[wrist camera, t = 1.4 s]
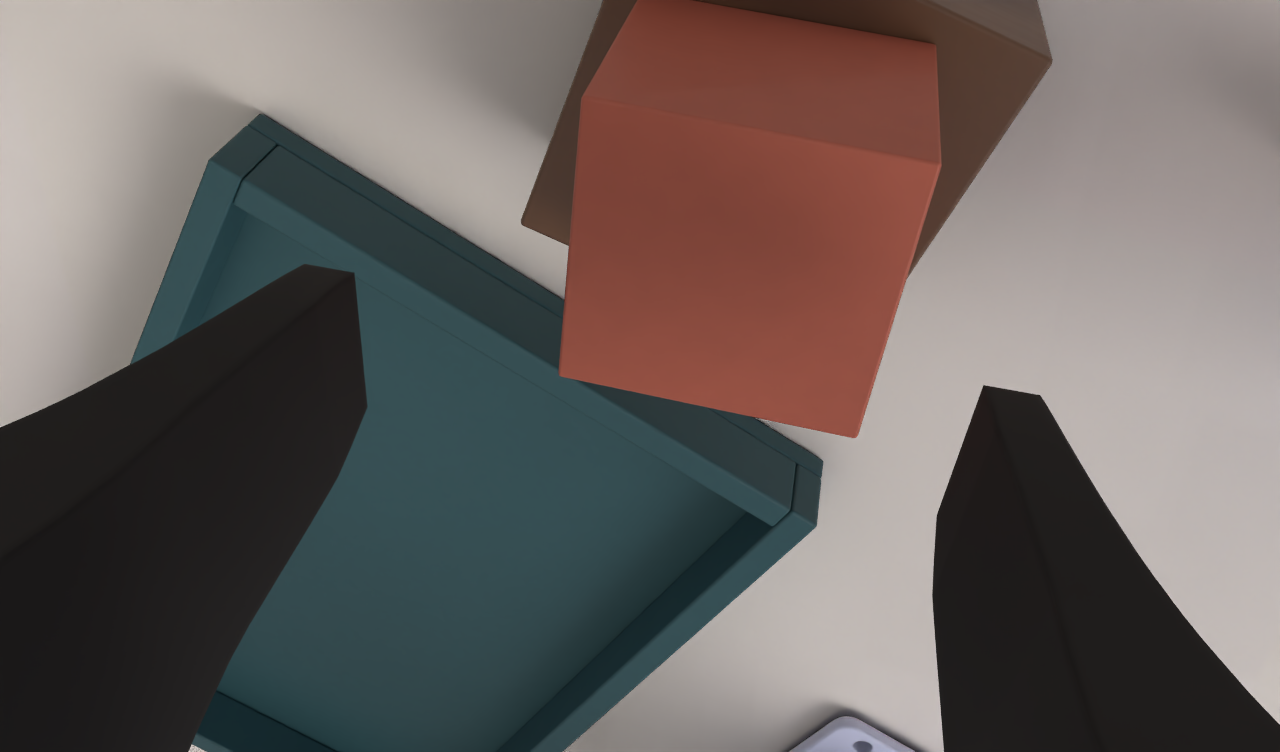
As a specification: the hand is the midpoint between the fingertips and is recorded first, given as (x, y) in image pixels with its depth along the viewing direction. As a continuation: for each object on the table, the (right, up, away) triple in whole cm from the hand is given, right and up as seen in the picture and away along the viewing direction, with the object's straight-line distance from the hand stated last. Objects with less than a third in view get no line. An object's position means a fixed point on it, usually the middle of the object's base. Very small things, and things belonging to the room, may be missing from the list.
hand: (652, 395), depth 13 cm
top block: (+2, +4, +5) cm, 7 cm away
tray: (-7, -4, +18) cm, 20 cm away
